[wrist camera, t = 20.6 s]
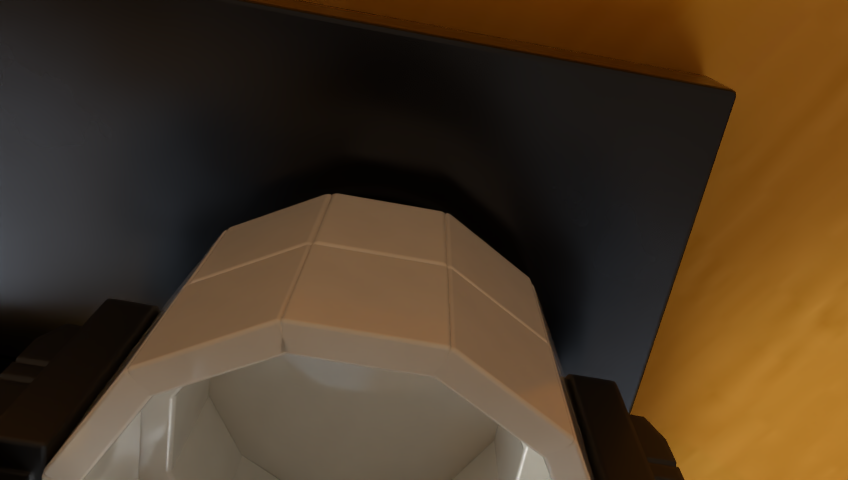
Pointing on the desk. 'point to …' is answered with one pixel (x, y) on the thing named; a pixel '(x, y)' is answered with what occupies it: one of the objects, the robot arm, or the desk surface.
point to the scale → (339, 155)
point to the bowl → (338, 361)
